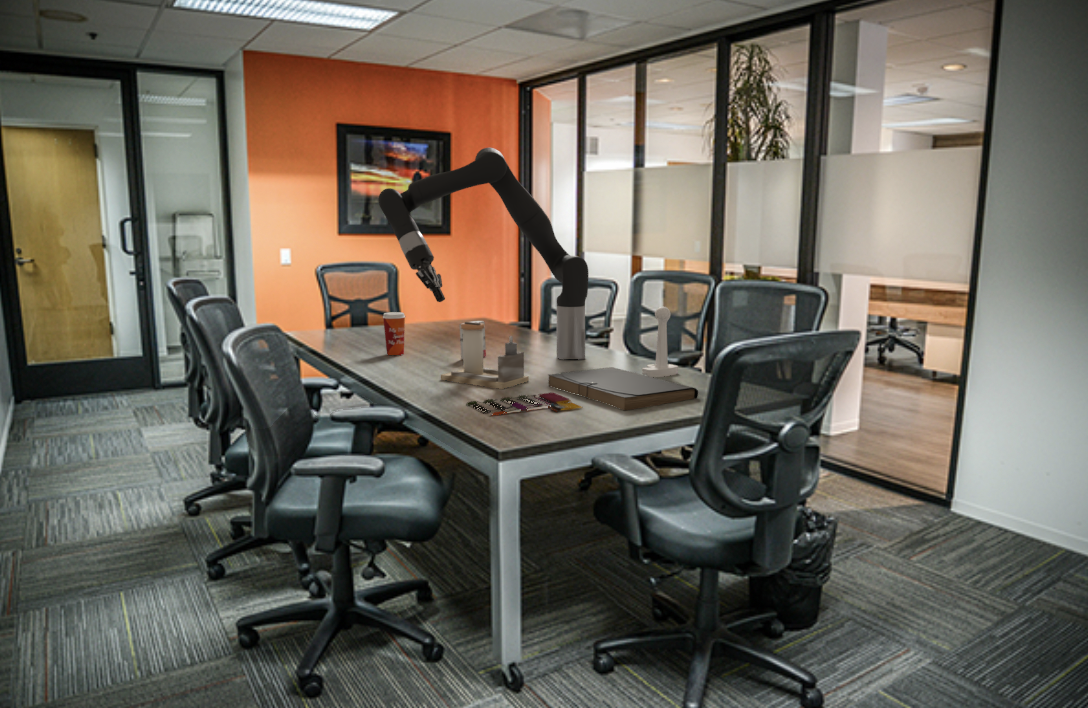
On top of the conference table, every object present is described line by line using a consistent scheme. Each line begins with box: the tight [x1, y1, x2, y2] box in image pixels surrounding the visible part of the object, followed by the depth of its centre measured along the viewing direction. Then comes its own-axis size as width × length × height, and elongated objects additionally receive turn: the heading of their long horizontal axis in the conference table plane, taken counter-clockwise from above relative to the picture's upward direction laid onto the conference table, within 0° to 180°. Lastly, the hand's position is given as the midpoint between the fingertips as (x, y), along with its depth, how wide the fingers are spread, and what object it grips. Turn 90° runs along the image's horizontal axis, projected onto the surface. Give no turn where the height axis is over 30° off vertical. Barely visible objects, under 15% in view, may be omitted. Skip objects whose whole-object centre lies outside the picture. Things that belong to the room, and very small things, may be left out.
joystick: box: [641, 306, 679, 378], centre depth 221 cm, size 11×8×20 cm
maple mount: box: [440, 351, 530, 390], centre depth 214 cm, size 22×12×8 cm, turn 55°
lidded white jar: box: [460, 321, 484, 375], centre depth 215 cm, size 7×7×14 cm
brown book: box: [547, 366, 699, 411], centre depth 200 cm, size 33×4×24 cm
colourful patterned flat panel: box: [465, 392, 583, 417], centre depth 184 cm, size 25×18×3 cm
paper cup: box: [382, 311, 406, 356], centre depth 256 cm, size 8×8×14 cm
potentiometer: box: [504, 335, 518, 355], centre depth 207 cm, size 3×3×5 cm
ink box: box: [459, 320, 487, 360], centre depth 249 cm, size 9×5×12 cm, turn 154°
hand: (441, 300), depth 222 cm, fingers closed
